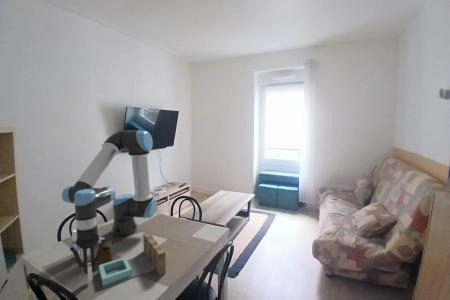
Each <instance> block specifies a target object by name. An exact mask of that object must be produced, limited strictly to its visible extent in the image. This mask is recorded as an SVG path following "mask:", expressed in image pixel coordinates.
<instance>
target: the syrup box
mask: <svg viewBox="0 0 450 300" xmlns="http://www.w3.org/2000/svg"><path fill="white" fill-rule="evenodd" d="M76 230H77V228H76V229H74V230H72V231H71V238H72V245H74V244H75V243H76V240H77V232H76ZM77 251H78V254H79V256H80V259H81V261H84V260H83V249H81V248H80V247H79V246H77ZM88 257H90V248H88V249H87V258H88ZM73 258H74V259H76V258H75V256H74V255H73Z"/></svg>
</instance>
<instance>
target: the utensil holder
mask: <svg viewBox="0 0 450 300" xmlns="http://www.w3.org/2000/svg"><path fill="white" fill-rule="evenodd" d="M98 241H99V240H98ZM98 241H97V244H99V242H98ZM111 243H112V241H111V240H109V241H107V242H106V245H105V246H102V250H101V255H100V260H99V262H98V263H99V265H101V264H104V263H108V262H111V261H113V260H114V259H113V250H112V246H111Z"/></svg>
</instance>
